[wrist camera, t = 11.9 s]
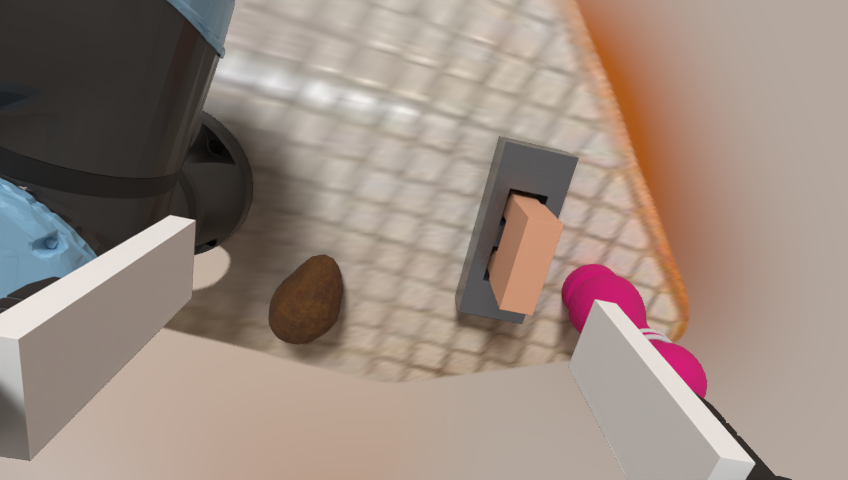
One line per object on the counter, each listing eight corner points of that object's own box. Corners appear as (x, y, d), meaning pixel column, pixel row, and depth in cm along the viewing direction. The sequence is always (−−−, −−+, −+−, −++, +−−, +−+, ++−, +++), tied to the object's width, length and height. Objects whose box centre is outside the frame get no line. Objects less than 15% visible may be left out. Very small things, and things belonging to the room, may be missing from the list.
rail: (455, 296, 50) (457, 311, 47) (499, 136, 44) (506, 141, 41) (514, 307, 51) (521, 324, 48) (566, 151, 45) (578, 157, 42)
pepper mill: (634, 291, 50) (763, 420, 32) (580, 328, 52) (674, 472, 33) (598, 246, 49) (714, 356, 30) (544, 286, 50) (621, 414, 31)
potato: (363, 265, 49) (355, 295, 42) (323, 338, 52) (310, 376, 45) (303, 236, 48) (286, 263, 41) (266, 313, 51) (244, 348, 44)
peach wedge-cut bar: (483, 263, 48) (499, 309, 39) (505, 187, 46) (528, 217, 36) (509, 268, 49) (532, 315, 39) (533, 194, 46) (564, 225, 36)
